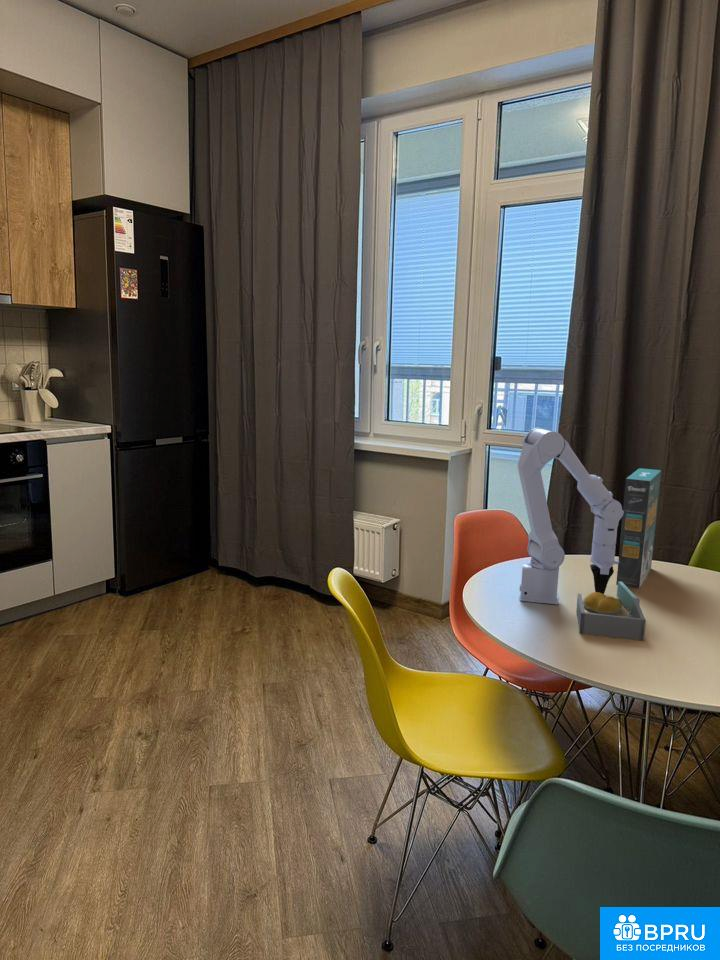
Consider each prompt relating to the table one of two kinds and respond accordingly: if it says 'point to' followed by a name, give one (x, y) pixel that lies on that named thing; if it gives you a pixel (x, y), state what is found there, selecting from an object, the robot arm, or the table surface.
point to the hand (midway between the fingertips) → (599, 592)
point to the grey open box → (611, 623)
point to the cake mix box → (638, 526)
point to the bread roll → (602, 604)
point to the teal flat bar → (626, 596)
